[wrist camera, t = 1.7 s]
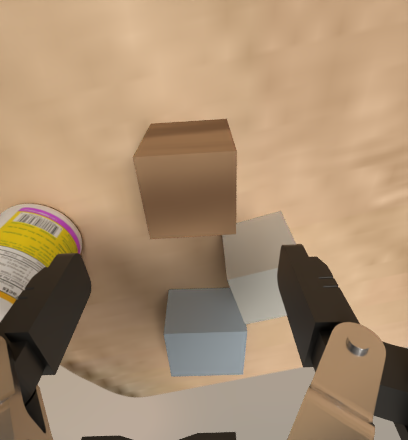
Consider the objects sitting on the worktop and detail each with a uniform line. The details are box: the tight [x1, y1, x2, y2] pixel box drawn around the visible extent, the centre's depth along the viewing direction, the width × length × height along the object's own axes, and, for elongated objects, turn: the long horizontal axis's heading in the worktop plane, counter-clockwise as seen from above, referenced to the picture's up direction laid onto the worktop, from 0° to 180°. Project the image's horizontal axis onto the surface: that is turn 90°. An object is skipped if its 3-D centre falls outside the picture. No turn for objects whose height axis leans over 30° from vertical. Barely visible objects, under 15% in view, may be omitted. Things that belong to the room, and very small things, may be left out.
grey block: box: [222, 211, 296, 324], centre depth 22 cm, size 5×5×6 cm
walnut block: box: [133, 119, 237, 239], centre depth 17 cm, size 5×5×6 cm
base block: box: [164, 288, 247, 376], centre depth 27 cm, size 7×7×5 cm
